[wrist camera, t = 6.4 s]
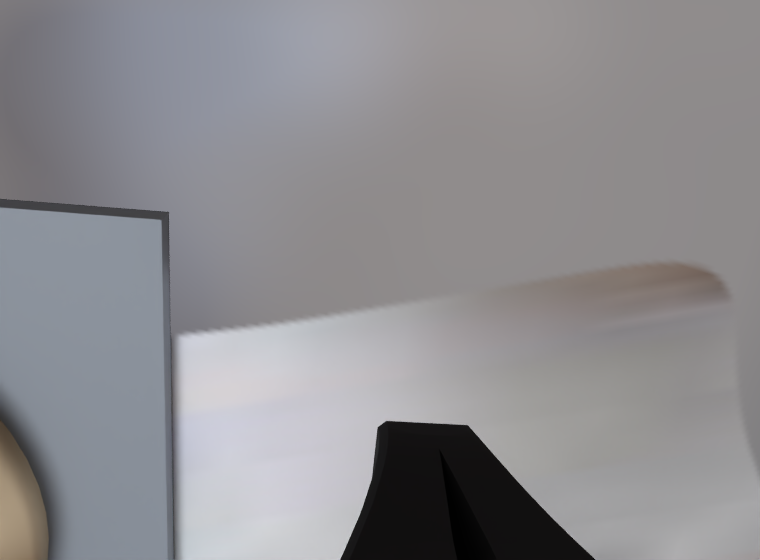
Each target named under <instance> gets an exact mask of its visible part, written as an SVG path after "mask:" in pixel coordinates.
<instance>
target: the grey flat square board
mask: <svg viewBox="0 0 760 560" xmlns="http://www.w3.org/2000/svg"><path fill="white" fill-rule="evenodd" d="M0 420H1V421H2V422H3V424H4V425H5V426H6V427H7V429H8V430H9V431H10V432H11V434H12V436H13V437H14V439H15V440H16V442H17V444H18V445H19V447H20V449H21V450H22V452H23V453H24V455H25V457H26V458H27V460H28V463H29V465H30V467H31V469H32V472H33V474H34V476H35V478H36V481H37V483H38V485H39V488H40V492H41V496H42V499H43V503H44V506H45V510H46V516H47V525H48V534H49V545H48V560H174V546H173V476H172V407H171V337H170V269H169V212H161V211H148V210H136V209H121V208H110V207H109V208H108V207H97V206H84V205H71V204H58V203H44V202H33V201H19V200H7V199H0Z"/></svg>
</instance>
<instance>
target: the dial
mask: <svg viewBox="0 0 760 560" xmlns="http://www.w3.org/2000/svg"><path fill="white" fill-rule="evenodd" d="M48 545H49V534H48V525H47V516H46V510H45V506H44V503H43V499H42V496H41V492H40V488H39V485H38V483H37V481H36V478H35V476H34V474H33V472H32V469H31V467H30V465H29V463H28V460H27V458H26V457H25V455H24V453H23V452H22V450H21V449H20V447H19V445H18V444H17V442H16V440H15V439H14V437H13V436H12V434H11V432H10V431H9V430H8V429H7V427H6V426H5V425H4V424H3V422H2V421H1V420H0V560H48Z"/></svg>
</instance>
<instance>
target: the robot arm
mask: <svg viewBox="0 0 760 560" xmlns="http://www.w3.org/2000/svg"><path fill="white" fill-rule="evenodd" d="M340 560H595V559H594V558H593V557H592V556H591V555H590V554H589V553H588V552H587V551H586V550H585V549H584V548H582V547H581V546H580V545H579V544H578V543H577V542H576V541H575V540H574V539H573V538H572V537H571V536H570V535H569V534H568V533H567V532H566V531H565V530H564V529H563V528H562V527H561V526H560V525H558V524H557V523H556V522H555V521H554V520H553V519H552V518H551V517H550V515H549V514H548V513H547V512H546V511H545V510H544V509H543V508H542V507H541V506H540V505H539V504H538V503H537V502H536V501H535V500H534V499H533V498H532V497H531V496H530V495H529V494H528V492H527V491H526V490H525V489H524V488H523V487H522V486H521V485H520V484H519V483H518V482H517V480H516V479H515V478H514V477H513V476H512V475H511V474H510V473H509V472H508V470H507V469H506V468H505V467H504V466H503V465H502V464H501V463H500V461H499V460H498V459H497V458H496V457H495V456H494V455H493V453H492V452H491V451H490V450H489V449H488V448H487V447H486V445H485V444H484V443H483V442H482V441H481V440H480V438H479V437H478V436H477V435H476V434H475V433H474V432H473V431H472V430H471V428H470V427H469V426H468V425H452V424H433V423H414V422H394V421H386V422H384V423H383V424H382V425H380V426H379V427H378V430H377V439H376V448H375V457H374V466H373V475H372V481H371V484H370V487H369V490H368V493H367V496H366V499H365V502H364V505H363V508H362V511H361V513H360V516H359V518H358V521H357V523H356V525H355V527H354V530H353V532H352V534H351V537H350V539H349V541H348V544H347V546H346V548H345V551H344V553H343V555H342V557H341V559H340Z"/></svg>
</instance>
